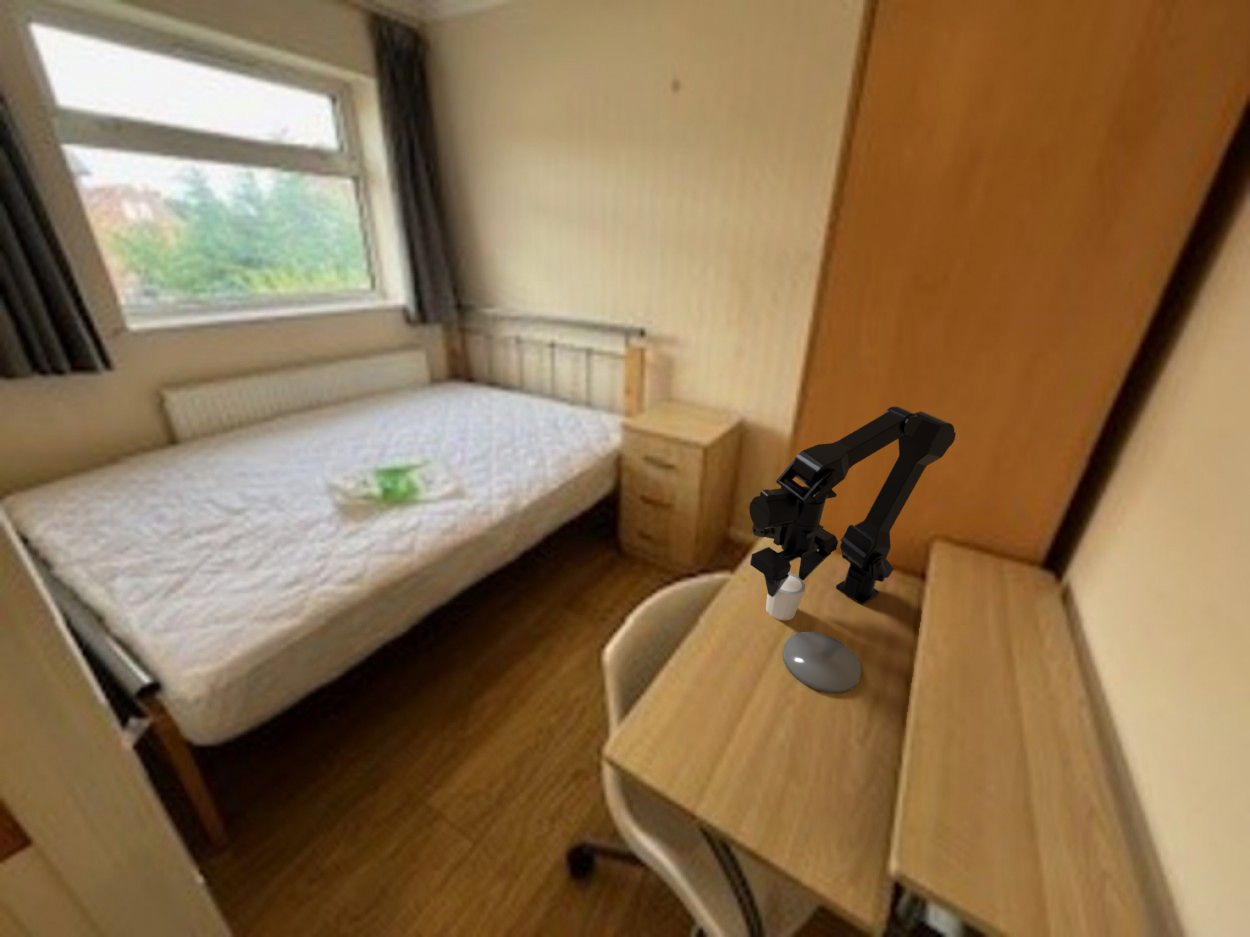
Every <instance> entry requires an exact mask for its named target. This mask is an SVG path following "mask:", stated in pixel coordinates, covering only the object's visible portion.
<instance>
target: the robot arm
mask: <svg viewBox="0 0 1250 937" xmlns="http://www.w3.org/2000/svg"><path fill="white" fill-rule="evenodd" d="M956 436H957V435H956V432H955V427H954V425H953V424H952V423H950V422H948V421H945V420H943V419H941V418H938V417H936V416H934V415H932V414H929V413H927V412H924V411H917V412H915V413H914V412H912V411H909V410H907V409H905V408H903V407H900V406H890V407H889V408H887V409H886V410H885V412H884V413H883V414H882V415H880V416H878V417H877V418H875V419H873V420H871V421H870V422H868V423H866V424H865V425H862V426H861V427H859V428H858V429H856V430H854V431H853V432H851V433H849V434H847V435H845V436H843V437H842V438H840V439H839V440H836V441H834V442H832V443H819V444H815V445H813V446H811V447H807V448H805V449H804V450H802V451H800V452H799V453H798V454H797V455H796V456H795V458H794V459H793V460H792V461H791V462H790V463H789V465H788V466H787V467H786V468H785V470H784V471H783V472H782V473H781V474H780V476H779V477H778V478H777V479H776V481H775V482H776V484H777V485H779V486H780V488H774V489H773V488H772V489H769V488H768V489H762V490H760V492H759V493H760V494H759V495H757V496H754V497H753V499H752V500H751V501H750V502H749V506H748V507H749V510H748V511H749V516H750V519H751V522H752V523H753V524H752V527H751V529H752V533H753V535H754V536H756V537H758V538H767V539H771V540H772V539H773V541H772V543H773V544H774V545H776V546H781V547H780V548H781V549H782V550H781V551H779V552H777V551H776V550H774V549H773V548H771V547H769V546H768V547H765V548H762V549H760V550H757V551H756V552H753V553H751V556H750V562H749V564H750V566H751V567H752V568H754V569H756V570H757V571H759V572H760V573H761V574H763V577H764V580H765V585H766V589H767V590H766V591H767V594H769V595H770V596H771V597H774V596H775V594H776V593H777V592H778V591H779V589H780V588H781V586H782V585H783V584H784V582H785V581H786V579H787V578H788V577H789V575H788V573H790V571H791V567H792V565H791V562H793V561H796V560H798V559H800V562H799V569H798V577H799V578H800V579H801V580H802V581H805V580H806V579H807V578H808V576H810V575H811V574H812V573H813V571H815V570H816V569H817V568H818V567H819V566H820V565H821V564H822V563H823V562H824V561H825V560H826V559H827V558H828V557H829V556H830V555H832V552H834V551H837V547H838V544H839V541H838V539H837V536H836V535H835V534H833V533H831V532H830V531H828V530H826V529H825V528H824V526H823V525H821V524H820V523H821V519H822V515H823V512H824V509H825V508H824V507H825V504H826V500H827V499H832V498H834V499H835V498H836V497H837V494H838V493H836V492H835V491H834V490H833V489H834V488H835V487H836V486H837V485H839V484H840V483H842V481H844V480H845V479H846V477H847V474H848V472H849V470H850V469H851V468H852V467H853V466H855V465H856V464H858V463H859V462H861V461H863V460H864V459H866V458H869V457H870V456H872V455H874V454H875V453H876V452H878V451H880V450H881V449H884V448H885V447H886V446H889V445H890V444H892V443H893V442H895V441H898V442H897V443H898V457H897V458H896V460H895V463H894V464H893V466H892V467H891V470H890V472H889V473H888V476H887V477H886V480H885V481H884V483H883V485H882V487H881V489H880V491H879V492H878V494H877V496H876V497H875V500H874V502H873V503H872V506H871V507H870V509H869V511H868V513H867V514H866V516H865V518H864V520H862V521H860V522H859V523H857V524H849V526H847V527H846V531H845V533H844V535H843V536H842V537H841V539H840V541H841V543H840V545H839V549H840V550H841V557H842V558H843V560H846V561H847V562H848V563H849V566H848V569H847V572H846V576H845V579H844V580H843V581H841V582H839V583H838V584H836V586H835V588H836V589H837V591H840V592H842V593H843V594H844V595H847V596H848V597H850V598H851V599H853V600H854V601H856V602H857V603H859V604H861V605H864V604H866V603H867V602H869V601H871V600H872V599H873V598H875V597H877V596H878V595H879V594H880V591H879V590H878V589H877V588H875V587H876V584H877V582H879V583H882V582H884V581H885V579H887V578H889V577H890V575H892V574H893V571H894V567H893V566H892V565H891V563H890V562H889V561H888V559H887V557H888V554H889V553H890V550H891V536H890V534H891V533H890V532H891V530H892V528H893V526H894V525H895V522H896V521H897V519H898V518H899V515H900V514H901V512H902V510H903V508H904V507H905V505H906V503H907V501H908V499H909V498H910V496H911V494H912V493H913V490H914V489H915V487H916V485H917V483H918V482H919V480H920V478H921V476H922V474H923V473H924V471H925V469H926V468H927V466H929V465H931V464H932V463H935V462H936V461H938V460H939V459H941V458H942V457H944V455H945V454H946V452H947V451H948V449H949V448H950V447H951V446H952V444H954V442H955V440H956ZM795 478H796V479H797V480H799V481H800V482H802V483H803V485H804V486H802V485H801V484H800V483H798V482H796V481H795V480H794V479H795Z"/></svg>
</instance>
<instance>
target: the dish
mask: <svg viewBox="0 0 1250 937" xmlns="http://www.w3.org/2000/svg"><path fill="white" fill-rule="evenodd" d="M783 646H784V647H783V651H782V660H783V662H784V665H785V668H787V670H788V671H789V673H790V674H791V675H792V676H793V677H794V678H795V679H797V681H799V682H800V683H801V682H802V683H801V684H803V685H804V686H806V687H808V686H809V688H810V687H811V688H810V689H812V688H813V690H815V691H818V692H822V693H827V694H832V693H833V695H834V694H835V693H836V694H837V693H838V694H843V693H847V692H851V691H852V690H853V689H855V688H856V687H857V684H858V683H859V682H860V679H861V675H862V666H861V662H860V660H859V659H858V656H857V655H856V654H855V653H854V651H853V650H852V649H851V648H849V647H848V646H847V645H846V644H845V643H844V642H842V641H840V640H839V639H837V638H835V637H832V636H830V635H827V634H825V633H821V632H815V631H802V632H798V633H794V634H793V635H791V636H789V638H787V639H786V641H785V643H784V645H783ZM852 688H853V689H852ZM851 689H852V690H851Z"/></svg>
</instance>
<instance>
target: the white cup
mask: <svg viewBox="0 0 1250 937" xmlns="http://www.w3.org/2000/svg"><path fill="white" fill-rule="evenodd" d="M788 575H789V577H788V578H787V579H786V581H785V582H784V584H783V585H782V586H781V588H780V589H779V591H778V592H777V593H776V594H775V596H774V597H771V596H770V595H769V594H768V593H767V596H766V604H765V610H766V612H768V613H769V614H768V613H767V614H768V615H769V616H770V617H772V618H774V619H776V620H779V621H789V620H792V619H794V617H795V615H796V613H797V610H798V608H799V605H800V603H801V600H802V598H803V596H804V592H805V591H806V583H804V580H801V579H800V578H799V575H798V576H797V575H795V574H794V573H791V572H789V573H788Z"/></svg>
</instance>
